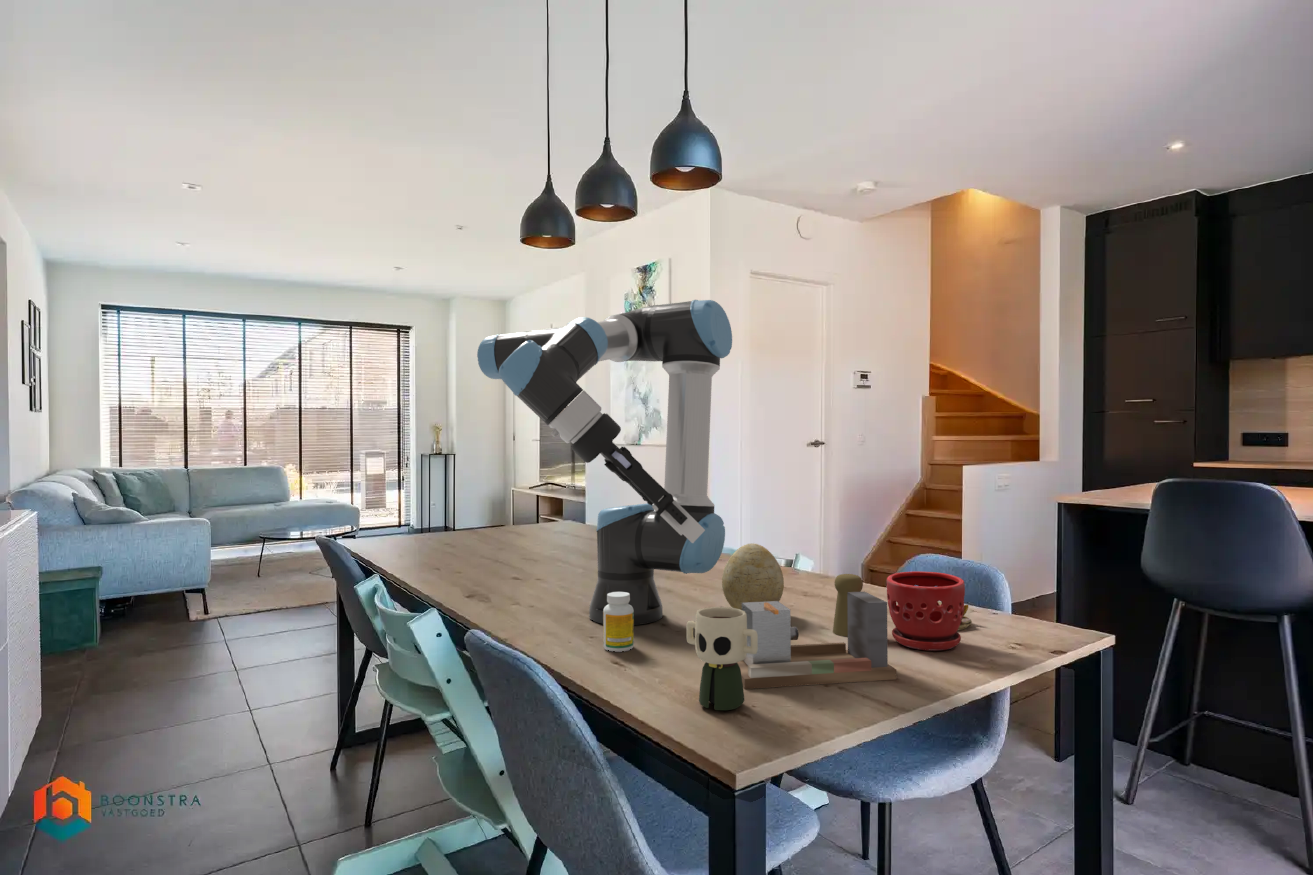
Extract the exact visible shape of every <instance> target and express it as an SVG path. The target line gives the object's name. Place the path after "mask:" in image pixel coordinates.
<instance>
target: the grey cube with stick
mask: <svg viewBox="0 0 1313 875" xmlns="http://www.w3.org/2000/svg"><path fill="white" fill-rule="evenodd" d="M742 610H743V611H745V612H746V614H747V629H752V630H755V631H757V635H758V650H757V654H749V653H747V655H746V658H745V659H744V660H743V661H744V662H745V663H746V664H747V665H752V664H768V663H785V662H791V645H792V643H791V642H792V641H798V640H799V630H798V627H797V626H791V609H790V608H788V606H786V605H784V604H783V603H781V602H780V601H779V602H778V601H768V602H746V603H742ZM747 646H751V637H750V636H747Z"/></svg>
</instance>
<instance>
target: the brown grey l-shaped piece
mask: <svg viewBox="0 0 1313 875" xmlns="http://www.w3.org/2000/svg"><path fill="white" fill-rule="evenodd" d="M847 602H848V637H847V643H845V642H844V641H843V642H841V641H840V642H826V643H825V642H824V643H811V644H810V643H808V644H795V645H794V644H791V662H785V663H768V664H752V665H747V664H746V663H745V662H744V661H743V660H742V661H739V662H737V663H738V665H739V667H740V669H741V676H742V683H743V690H750V689H751V690H753V689H754V690H755V689H767V688H779V687H780V688H782V687H799V686H815V685H828V684H829V685H830V684H845V683H846V684H847V683H858V682H861V683H862V682H874V681H875V682H877V681H892V680H897V669H896V668H895V667H893V666H892V665H891V664H889V663H888V660H889V656H888V649H889V648H888V601H886V600H883V599H881V598H879V597H877V596H875V595H873V594H872V593H869V592H867V591H861V592H847ZM846 644H847V645H846ZM846 648H847V649H846Z"/></svg>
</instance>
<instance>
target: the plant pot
mask: <svg viewBox="0 0 1313 875" xmlns="http://www.w3.org/2000/svg"><path fill="white" fill-rule="evenodd" d="M965 584H966V583H965V580H963V579H962V578H961V577H959V576H956V575H953V574H949V573H943V572H935V571H918V570H917V571H916V570H915V571H902V572H896V573H892V574H890V575H888V576H887V577H886V597H887V598H886V599H887V608H888V611H889V615H890V618H891V621H892V623H893V625H894V626H895V627H894V628H892V630H891V635H892V637H893V639H894V640H895V641H896V642H897V643H898V644H900V645H902V646H905V647H907V648H910V649H915V650H920V651H927V652H930V651H931V652H935V651H936V652H937V651H946V650H951V649H953V648H955V647H956V646H958V645H959V643H960V642H961V639H962V636H961V634H960V633H959V632H958V631H959V630H958V628H959V626H960V624H961V621H962V618H963V613H964V605H965V595H966V586H965ZM938 602H941V603H942V604H941V605H939V603H938Z"/></svg>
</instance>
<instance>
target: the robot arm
mask: <svg viewBox="0 0 1313 875" xmlns="http://www.w3.org/2000/svg"><path fill="white" fill-rule="evenodd" d="M732 332H733V331H732V328H731V322H730V320H729V317H728V315H727V313H726V311H725V309H724V307H722V305H721V304H719V303H718V302H716V301H715V300H712V299H702V300H701V299H699V300H698V299H693V300H690V301H689V300H688V301H681V302H680V301H679V302H675V303H674V302H671V303H666V304H665V303H664V304H653V305H648V306H644V307H640V308H637V309H633V310H631V311H630V310H629V311H627V312H622V313H618V314H611V315H609V316H607V317H606V318H604V319H603V320H602V321H596V320H594V318H591V317H587V316H579V317H577V318H575V319H573V320H572V321H569V322H567V323H566V325H565V326H558V327H551V328H549V327H548V328H544V329H543V328H542V329H541V328H540V329H535V330H529V331H519V332H512V333H497V334H494V335H490V336H486V337H485V338H483V340H482V341H481V342H480V344H479V345H478V349H477V354H476V355H477V356H476V357H477V362H478V367H479V369H480V371H481V372H482V374H484V376H486V377H487V378H489V379H492V380H501V381H502V382H503V383H504V384H505V385H506V386H507V388H508V389H510V391H511V392H512V393H513V395H514V396H516V397H517V398H518V399H519V400H521V402H522V403H524V404H525V406H527V407H528V408H529V409H530V410H531V411H532V412H533V413H535V415H537V417H539V418H540V420H542V422H544V423H545V424H546V425H547V426H548V427H549V428H550V429H552V430H551V432H550V435H551V436H552V437H554V438H555V437H557V436H559V438H560V439H561V440H562V441H563V442H564V443H566V444H569V443H571V450H572V451H573V452H574V453H575V454H576V455H577V456H578V457H579V458H580V459H581V460H582V461H583V462H584V463H586V464H588V463H591V462H592V461H594V460H595V459H596V458H597V457H598V456H599V455H601V456H602V457H603V458H604V460H603V461H604V462H605V463H604V466H605V467H606V468H607V469H608V470H609V471H610V472H612V473H613V474H615V475H616V476H617V477H618V478H619V479H620V480H621V481H622V482H625V483H627V484H628V485H629V486H630V487H631V488H632V489H633V490H634V491H635V492H636V493H637V494H638V495H639V496H640V497H641V498H642V500H643V501H645V502H646V503H638V504H630V505H622V506H621V505H620V506H613V507H607V508H603V509H601V510H600V511H599V512H598V515H597V525H596V530H595V531H596V543H597V550H596V551H597V553H596V554H597V557H596V558H597V581H596V584H595V587H594V588H595V589H594V591H593V594H592V598H591V600H590V603H589V604H590V605H589V607H588V608H589V611H588V613H589V616H588V617H589V620H591V621H592V620H593V622H595V623H599V624H602V625H603V610H604V607H605V606H606V605H608V604H609V603H608V602H607V594H608V593H612V592H627V593H629V594H630V601H629V603H628V604H629V605H631V606H632V607H633V610H634V626H635V625H638V626H640V625H646V624H650V623H654V622H657V621H659V620H661V619H662V618H663V603H662V601H661V597H660V594H659V591H658V589H657V585H656V582H655V576H654V575H655V574H654V570H658V571H669V572H678V573H683V574H684V575H685V574H704V573H705V574H706V573H708V572H709V571H711V570H712V569H713V568H714V567H715V566H716V564H717V562H718V561H719V560H720V558H721V555H722V552H723V550H724V545H725V540H726V527H725V526H724V524H725V523H724V520H723V518H722V517H721V516H720V515H719V514H716V513H715V503H714V502H712V500H711V499H710V498H709V496H708V486H709V485H708V484H709V461H710V459H709V458H710V438H711V437H710V436H711V435H710V432H711V409H712V408H711V407H712V381H713V376H714V375H715V374H716V373H717V372H719V370H720V367H721V359H724V358H726V357H728V356H729V355H730V353H731V350H732V347H733V333H732ZM607 360H609V361H611V362H613V363H622V362H661V363H662V364H661V367H662V368H663V369H664V371H665V372H666V373H667V374H668V395H667V396H668V398H667V416H666V418H667V419H666V420H667V424H666V438H665V439H666V440H665V441H666V444H665V465H664V487H663V486H662V485H661V484H660V483H659V482H657V480H656V479H654V477H653V476H652V475H650V473H648V472H647V471H646V470H645V469H644V468H643V465H642V464H641V462H639V461H638V460H637V459H636V458H635V457H634V456H633V454H632V452H631V451H630V450H629V449H628V448H627V447H626V446H621V447H619V446H617V444H615V443H614V440H615V439H616V438H617V437H618V435H620V433H621V430H622V428H621V425H619V424H618V422H616V421H615V420H614V419H613V418H612V416H610V415H609V414H608V413H605V412H604V413H602V406H601V405H600V404H598V403H597V402H596V400H594V399H593V398H592V396H591V395H590V394H589V393H587V392H586V391H585V390H584V389H583V388H582V387H581V386H580V385H579V384H578V383H577V382H578V381H579V380H580V379H581V378H582V377H583V376H585V375H586V373H588V372H589V370H591V369H592V368H593V367H594V366H596V365H597V364H598V363H599V362H604V361H607Z"/></svg>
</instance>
